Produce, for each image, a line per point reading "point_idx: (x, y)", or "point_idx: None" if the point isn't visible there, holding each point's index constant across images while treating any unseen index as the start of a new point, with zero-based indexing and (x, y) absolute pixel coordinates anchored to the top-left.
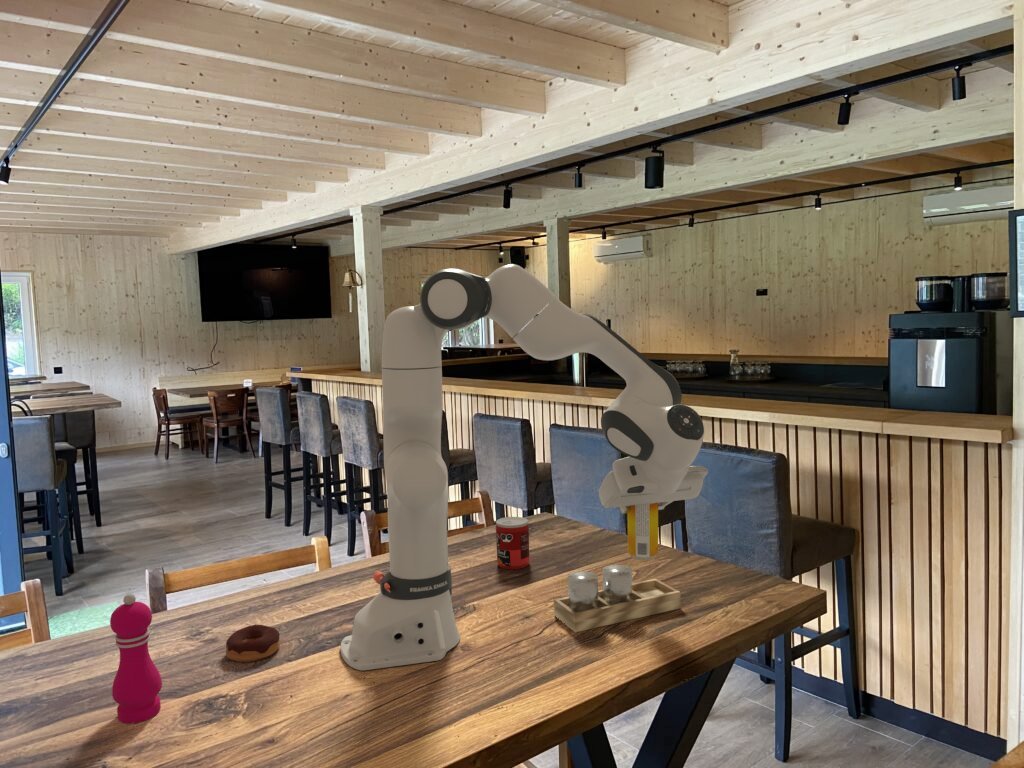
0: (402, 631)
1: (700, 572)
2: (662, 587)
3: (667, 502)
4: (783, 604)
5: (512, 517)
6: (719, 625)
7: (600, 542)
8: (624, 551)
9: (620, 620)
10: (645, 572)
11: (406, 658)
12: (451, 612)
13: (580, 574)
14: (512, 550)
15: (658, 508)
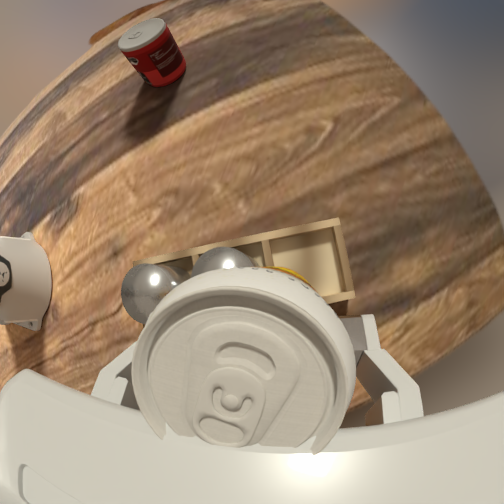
0: (2, 320)
1: (429, 161)
2: (338, 252)
3: (372, 399)
4: (478, 318)
5: (150, 20)
6: None
7: (311, 26)
8: (337, 55)
9: None
10: (347, 130)
11: (20, 324)
12: (23, 296)
13: (144, 280)
14: (145, 72)
15: None
